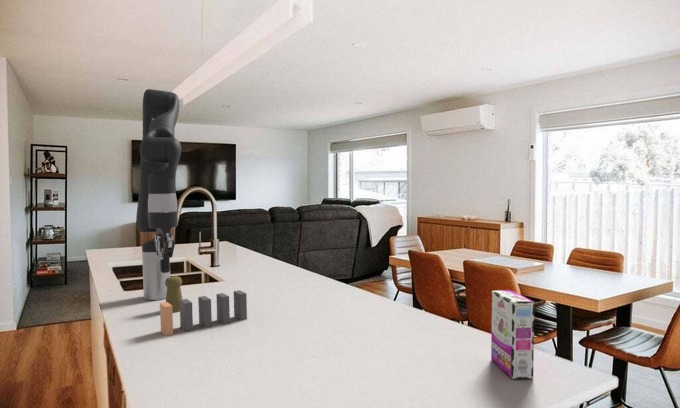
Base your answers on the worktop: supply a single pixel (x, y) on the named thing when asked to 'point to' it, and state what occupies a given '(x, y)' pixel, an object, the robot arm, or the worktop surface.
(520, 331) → the candy bar box
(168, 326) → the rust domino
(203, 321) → the domino
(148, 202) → the robot arm
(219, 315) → the domino
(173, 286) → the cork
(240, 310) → the domino
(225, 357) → the worktop surface
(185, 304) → the domino
